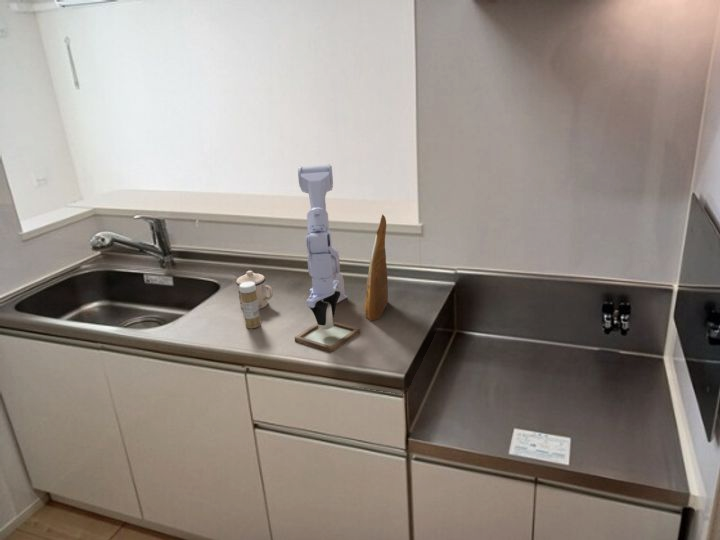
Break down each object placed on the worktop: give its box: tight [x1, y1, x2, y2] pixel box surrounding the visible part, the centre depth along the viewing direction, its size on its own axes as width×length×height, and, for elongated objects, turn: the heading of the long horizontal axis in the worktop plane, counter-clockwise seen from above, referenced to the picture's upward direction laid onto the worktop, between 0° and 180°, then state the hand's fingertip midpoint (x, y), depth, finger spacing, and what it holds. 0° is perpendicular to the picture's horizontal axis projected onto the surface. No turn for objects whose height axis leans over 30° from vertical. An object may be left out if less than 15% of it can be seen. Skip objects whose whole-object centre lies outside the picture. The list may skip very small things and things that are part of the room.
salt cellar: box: [318, 302, 334, 330], centre depth 157 cm, size 4×4×7 cm
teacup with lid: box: [236, 270, 274, 310], centre depth 180 cm, size 12×9×12 cm
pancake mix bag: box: [364, 213, 389, 322], centre depth 169 cm, size 7×19×28 cm, turn 165°
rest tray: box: [294, 320, 361, 353], centre depth 159 cm, size 13×13×1 cm
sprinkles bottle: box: [239, 282, 262, 329], centre depth 166 cm, size 5×5×14 cm
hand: (326, 320), depth 157 cm, fingers closed on salt cellar, 4 cm apart
